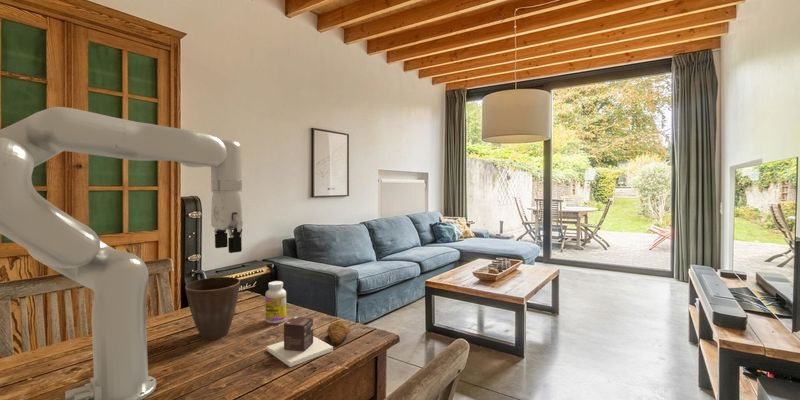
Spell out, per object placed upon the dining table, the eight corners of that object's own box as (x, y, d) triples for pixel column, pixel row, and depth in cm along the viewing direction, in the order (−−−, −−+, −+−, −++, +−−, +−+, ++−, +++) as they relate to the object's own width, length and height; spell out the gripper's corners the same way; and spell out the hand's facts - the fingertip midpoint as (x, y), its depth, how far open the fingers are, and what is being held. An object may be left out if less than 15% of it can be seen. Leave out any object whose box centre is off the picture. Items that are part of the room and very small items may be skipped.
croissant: (329, 328, 122) (329, 313, 121) (351, 328, 122) (350, 312, 122) (324, 347, 108) (323, 330, 108) (348, 346, 109) (348, 329, 108)
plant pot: (242, 339, 112) (241, 286, 112) (184, 349, 106) (183, 292, 105) (239, 322, 126) (238, 274, 125) (188, 330, 120) (187, 279, 119)
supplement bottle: (261, 322, 126) (260, 284, 125) (273, 316, 132) (273, 279, 131) (278, 325, 124) (278, 286, 123) (290, 318, 130) (289, 281, 129)
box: (303, 352, 102) (303, 325, 101) (283, 350, 103) (283, 323, 103) (313, 343, 108) (313, 317, 107) (294, 340, 109) (294, 315, 108)
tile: (290, 367, 96) (290, 362, 96) (266, 350, 105) (266, 346, 105) (333, 351, 105) (333, 346, 105) (308, 337, 114) (308, 333, 114)
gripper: (201, 186, 106) (202, 247, 107) (224, 187, 93) (225, 256, 94) (228, 186, 111) (229, 244, 112) (254, 187, 99) (255, 252, 100)
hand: (228, 249), depth 103 cm, fingers open, 9 cm apart
